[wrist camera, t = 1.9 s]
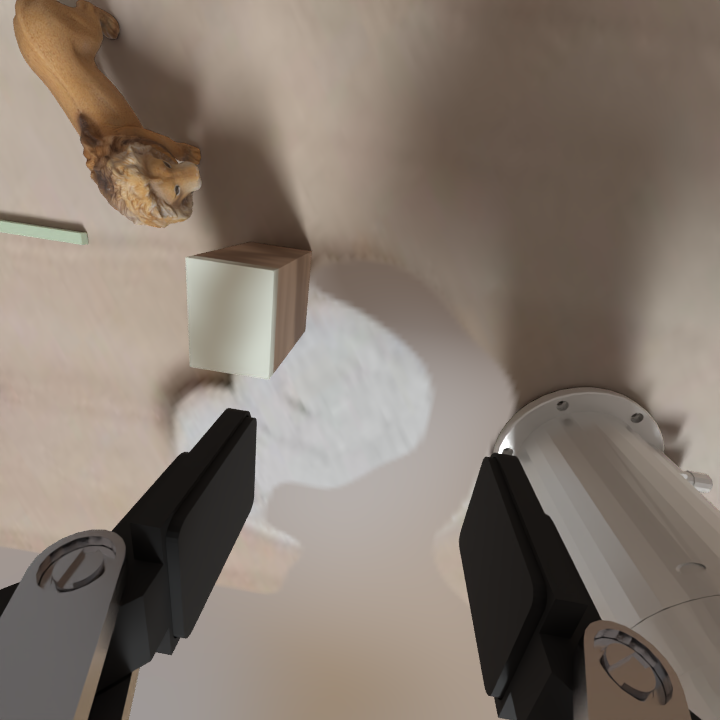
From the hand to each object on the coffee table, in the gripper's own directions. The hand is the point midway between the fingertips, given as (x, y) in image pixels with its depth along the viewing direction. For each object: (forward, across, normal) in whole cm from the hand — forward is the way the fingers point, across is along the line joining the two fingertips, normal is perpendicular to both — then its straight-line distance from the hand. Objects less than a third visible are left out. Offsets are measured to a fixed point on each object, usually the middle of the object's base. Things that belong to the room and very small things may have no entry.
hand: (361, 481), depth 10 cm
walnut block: (+20, +8, 0) cm, 21 cm away
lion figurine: (+20, +16, -10) cm, 27 cm away
